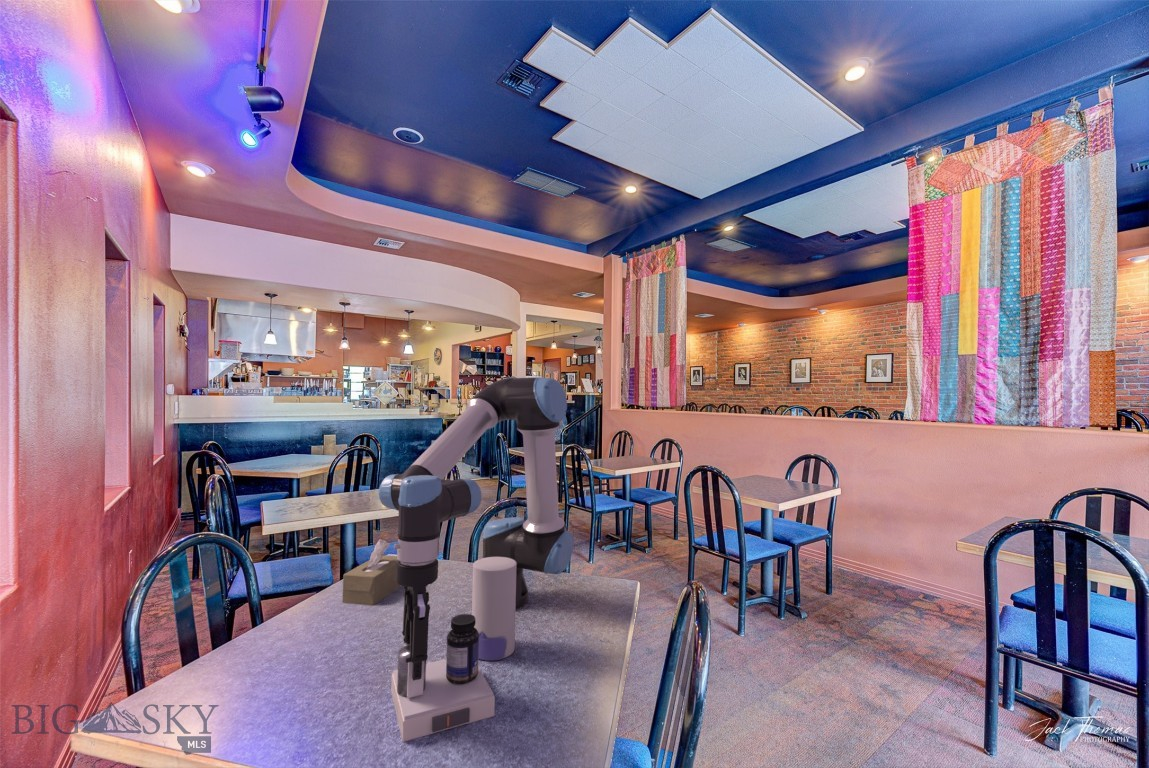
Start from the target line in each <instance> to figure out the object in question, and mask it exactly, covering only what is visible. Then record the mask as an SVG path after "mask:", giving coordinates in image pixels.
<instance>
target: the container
mask: <svg viewBox="0 0 1149 768" xmlns="http://www.w3.org/2000/svg"><path fill="white" fill-rule="evenodd" d="M516 565H517V563H516V561H515V560H513V559H511V558H506V557H487V558H483V557H482V558H479V559H477V560H475V561H474V562H473V564H472V595H471V596H472V598H471V600H472V601H471V615H473V616H474V617H475V619H476V623H475V626H474V628H476V629H477V631H478V633H479V653H478V660H482V661H487V662H488V661H499V660H503V659H505V658H507V657H509V656H511V655H512V654H513V653H514V651H515V644H516V643H515V641H516V639H515V638H516V609H515V607H516Z"/></svg>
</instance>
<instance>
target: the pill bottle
mask: <svg viewBox="0 0 1149 768" xmlns="http://www.w3.org/2000/svg"><path fill="white" fill-rule="evenodd" d="M475 623H476V619H475V617H474V616H473V615H472V614H470V613H461V614H457V615H455V616H453V617H452V618H451V620H450V628H451V630H450V631H448V634H447V636H446V659H447V660H446V678H447V680H448V681H449V682H451V683H453V684H465V683H468V682H470V681H472V680H474V679H475V678H476V677H477V675H478V667H479V659H478V653H479V633H478V631H477V629H476V628H474V626H475Z"/></svg>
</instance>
